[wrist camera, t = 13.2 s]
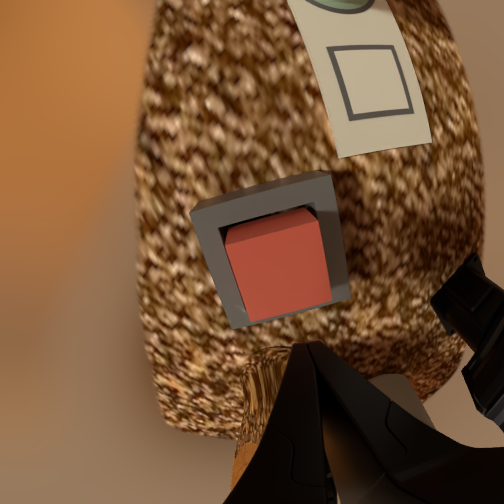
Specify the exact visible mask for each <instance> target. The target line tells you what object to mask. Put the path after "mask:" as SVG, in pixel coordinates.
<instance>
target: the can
mask: <svg viewBox="0 0 504 504" xmlns="http://www.w3.org/2000/svg"><path fill="white" fill-rule="evenodd" d="M368 381H369V382H371V383H372V384H373V385H374V386H375V387H377V388H378V389H379V390H380V391H382V392H383V393H384V394H385V395H387V396H388V397H389V398H390V399H391V401H392V400H393V401H394V402H396V403H397V404H398V405H399V406H401V407H402V408H403V409H405V410H406V411H407V412H409V413H410V414H411V415H413V416H414V417H416V418H417V419H419V420H420V421H422V422H424V423H425V424H427V425H428V426H430V427H432V428H433V429H435V427H434V425H433V423H432V421H431V419H430V417H429V416H428V414H427V412H426V410H425V408H424V406H423V404H422V403H421V401H420V399H419V397H418V396H417V394H416V392H415V390H414V389H413V387H412V385H411V383H410V382H409V380H408V378H407V377H406V376H404V375H402V374H382V375H378V376H375V377H373V378H371V379H369V380H368ZM435 430H436V429H435Z"/></svg>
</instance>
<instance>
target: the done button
mask: <svg viewBox="0 0 504 504" xmlns="http://www.w3.org/2000/svg"><path fill="white" fill-rule="evenodd" d="M225 248H226V251H227V254H228V257H229V260H230V263H231V266H232V269H233V272H234V275H235V278H236V281H237V284H238V287H239V290H240V293H241V296H242V298H243V301H244V304H245V307H246V310H247V313H248V316H249V319H250V321H251V322H254V321H258V320H262V319H266V318H270V317H274V316H278V315H282V314H286V313H290V312H293V311H297V310H301V309H305V308H308V307H312V306H315V305H319V304H322V303H326V302H329V301H332V295H331V289H330V282H329V276H328V270H327V265H326V259H325V254H324V248H323V243H322V238H321V233H320V228H319V223H318V220H317V219H316V218H315V217H314V216H313V215H312V214H311V213H310V212H309V211H308V210H307V209H306V208H305V207H303V208H299V209H295V210H291V211H287V212H284V213H280V214H276V215H272V216H269V217H265V218H261V219H258V220H254V221H250V222H247V223H243V224H239V225H236V226H232V227H229V228H228V232H227V237H226V242H225Z"/></svg>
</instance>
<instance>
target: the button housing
mask: <svg viewBox="0 0 504 504" xmlns="http://www.w3.org/2000/svg"><path fill="white" fill-rule="evenodd" d="M304 204H305V205H306V209H307V210H308V211H309V212H310V213H311V214H312V215H313V216H314V217H315V218H316V219H317V220H318V223H319V228H320V233H321V238H322V243H323V248H324V254H325V259H326V265H327V270H328V276H329V282H330V289H331V295H332V301H329V302H326V303H322V304H319V305H315V306H312V307H308V308H305V309H301V310H297V311H293V312H290V313H286V314H282V315H278V316H274V317H270V318H266V319H262V320H258V321H254V322H251V321H250V319H249V316H248V313H247V310H246V307H245V304H244V301H243V298H242V296H241V293H240V290H239V287H238V284H237V281H236V278H235V275H234V272H233V269H232V266H231V263H230V260H229V257H228V254H227V251H226V248H225V242H226V237H227V232H228V231H227V228H226V225H230V224H233V223H237V222H240V221H244V220H247V219H251V218H255V217H258V216H262V215H266V214H269V213H273V212H277V211H281V210H285V209H288V208H292V207H296V206H300V205H304ZM189 214H190V217H191V220H192V223H193V226H194V229H195V232H196V234H197V237H198V240H199V243H200V246H201V249H202V251H203V254H204V257H205V260H206V262H207V265H208V268H209V271H210V273H211V276H212V279H213V281H214V284H215V287H216V289H217V292H218V295H219V297H220V300H221V302H222V305H223V307H224V310H225V313H226V315H227V318H228V320H229V323H230V325H231V328H232V329H236V328H241V327H245V326H249V325H254V324H258V323H262V322H266V321H270V320H274V319H278V318H282V317H286V316H290V315H294V314H297V313H301V312H305V311H308V310H312V309H315V308H319V307H322V306H326V305H329V304H333V303H336V302H339V301H343V300H346V299H349V298H351V294H350V285H349V277H348V270H347V262H346V255H345V248H344V242H343V236H342V230H341V224H340V218H339V213H338V207H337V202H336V197H335V192H334V187H333V182H332V178H331V175H330V174H327V173H324V172H321V171H318V170H315V171H310V172H306V173H302V174H298V175H294V176H290V177H286V178H282V179H278V180H274V181H270V182H266V183H263V184H259V185H255V186H252V187H248V188H244V189H241V190H237V191H234V192H230V193H227V194H224V195H220V196H217V197H213V198H210V199H207V200H204V201H200V202H198V203H197V204H196V205H195V207H194V208H193V209H192V210H191V211H190V212H189Z"/></svg>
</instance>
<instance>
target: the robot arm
mask: <svg viewBox="0 0 504 504" xmlns="http://www.w3.org/2000/svg"><path fill="white" fill-rule="evenodd" d="M430 305H431V306H432V308H433V310H434V311H435V313H436V315H437V316H438V318H439V320H440V321H441V323H442V325H443V327H444V328H445V330H446V332H447V333H448V335H449V336H451V335H453V334H454V333H455V332H457V333H458V335H459V336H460V337H461V338H462V339H463V340H464V341H465V342H466V343H467V345H468V346H469V347H470V348H471V349H472V350H473V351H474V355H473V356H472V358H471V359H470V361H469V362H468V364H467V365H466V366H464V368H463V369H462V371H461V372H462V375H463V377H464V380H465V382H466V384H467V387H468V389H469V391H470V394H471V396H472V399H473V401H474V404H475V407H476V409H477V410H478V411H479V412H480V413H481V414H483V415H484V416H485V417H486V418H488V419H490V420H492V421H494V422H495V423H496V424H497V425H498V426H499V427H500V429H501V430H502V431H503V432H504V290H503V289H502V288H501V287H499V286H498V285H497V284H495V283H494V282H492V281H491V280H490V279H488V278H487V277H486V276H485V273H484V270H483V267H482V264H481V261H480V259H479V256H478V255H477V254H476V253H472V254H471V255H470V257H469V258H468V259H467V260H466V261H465V263H464V264H463V265H462V266H461V267H460V268H459V270H458V271H457V272H456V273H455V274H454V275H453V276H452V278H451V279H450V280H449V281H448V282H447V283H446V284H445V285H444V286H443V287H442V288H441V289H440V290H439V292H438V293H437V294H436V295H435V296H434V297H433V298H432V299H431V301H430ZM325 452H326V455H327V459H328V462H329V465H330V469H331V472H332V476H333V479H334V482H335V486H336V489H337V493H338V496H339V500H340V503H341V504H504V447H494V448H474V447H469V446H465V445H463V444H460V443H458V442H456V441H454V440H453V439H451V438H449V437H447V436H445V435H444V434H442V433H440V432H439V431H437V430H435V429H433V428H432V427H430V426H428V425H427V424H425V423H424V422H422V421H420V420H419V419H417V418H416V417H414V416H413V415H411V414H410V413H409V412H407V411H406V410H405V409H403V408H402V407H401V406H399V405H398V404H397V403H396V402H394V401H393V400H392V401H391V399H390V398H389V397H388V396H387V395H385V394H384V393H383V392H382V391H380V390H379V389H378V388H377V387H375V386H374V385H373V384H372V383H371V382H369V381H368V380H367V379H366V378H364V377H363V376H362V375H361V374H360V373H358V372H357V371H356V370H355V369H353V368H352V367H351V366H350V365H349V364H347V363H346V362H345V361H344V360H343V359H341V358H340V357H339V356H338V355H337V354H335V353H334V352H333V351H332V350H331V349H329V348H328V347H327V346H326V345H325V344H323V343H322V342H321V341H319V340H316V341H309V342H307V343H305V342H300V343H294V344H293V345H292V348H291V351H290V355H289V358H288V361H287V365H286V368H285V371H284V374H283V377H282V381H281V384H280V387H279V390H278V393H277V396H276V399H275V402H274V405H273V408H272V411H271V414H270V416H269V419H268V423H267V424H266V427H265V430H264V433H263V435H262V438H261V440H260V442H259V445H258V447H257V449H256V451H255V453H254V455H253V457H252V459H251V460H250V462H249V464H248V466H247V467H246V469H245V471H244V472H243V474H242V475H241V477H240V479H239V480H238V482H237V483H236V485H235V486H234V488H233V489H232V491H231V492H230V494H229V496H228V497H227V498H226V500H225V501H224V503H223V504H329V501H328V490H327V473H326V459H325Z"/></svg>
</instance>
